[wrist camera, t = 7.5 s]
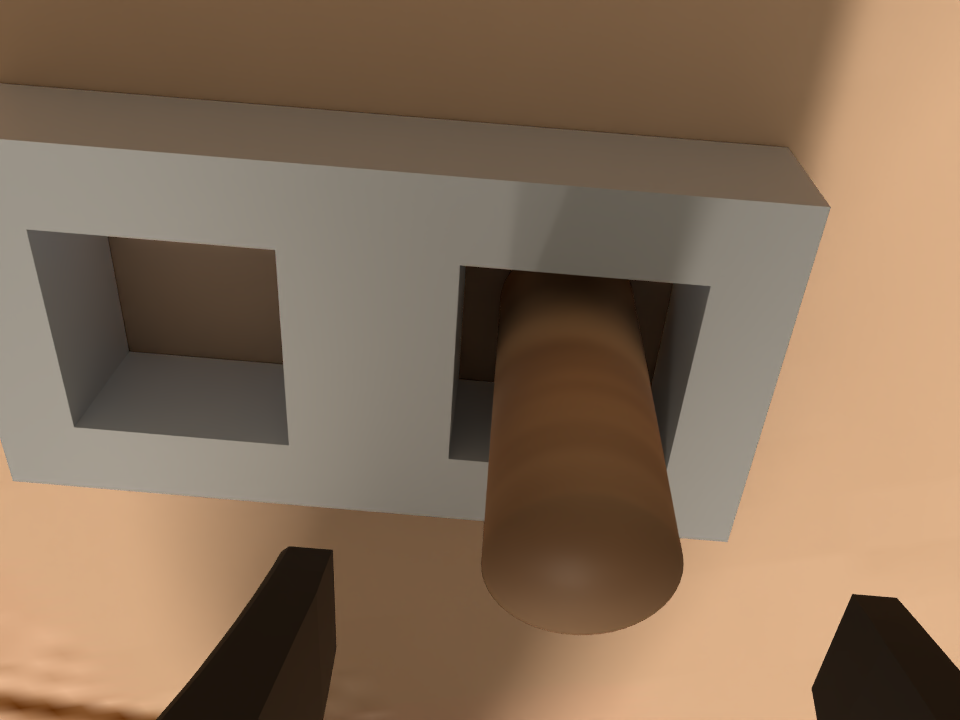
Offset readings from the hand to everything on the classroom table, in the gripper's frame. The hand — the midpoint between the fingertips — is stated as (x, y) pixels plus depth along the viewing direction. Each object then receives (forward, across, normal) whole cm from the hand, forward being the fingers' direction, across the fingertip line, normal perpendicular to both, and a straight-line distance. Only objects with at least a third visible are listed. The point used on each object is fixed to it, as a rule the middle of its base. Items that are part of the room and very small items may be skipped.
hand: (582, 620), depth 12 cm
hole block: (+9, +4, 0) cm, 10 cm away
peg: (+9, 0, 0) cm, 9 cm away
